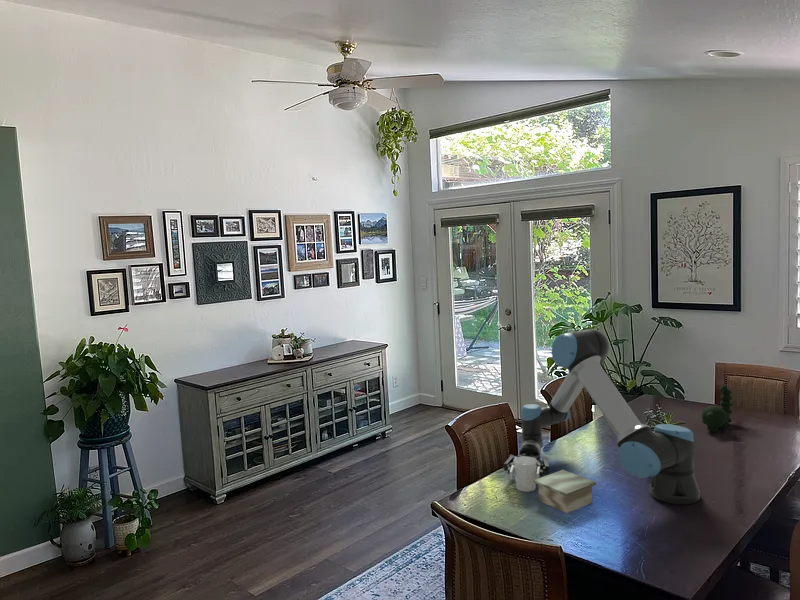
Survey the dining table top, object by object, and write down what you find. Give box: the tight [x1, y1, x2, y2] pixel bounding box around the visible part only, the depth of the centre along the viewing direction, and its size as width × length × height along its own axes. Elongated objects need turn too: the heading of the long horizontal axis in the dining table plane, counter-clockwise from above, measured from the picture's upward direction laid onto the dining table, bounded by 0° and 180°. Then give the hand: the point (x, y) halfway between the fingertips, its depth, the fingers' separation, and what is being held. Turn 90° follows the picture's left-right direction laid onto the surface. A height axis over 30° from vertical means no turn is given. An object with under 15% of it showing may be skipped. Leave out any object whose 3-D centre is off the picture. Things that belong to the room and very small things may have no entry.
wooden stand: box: [534, 469, 597, 514], centre depth 193 cm, size 14×14×7 cm
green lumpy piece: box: [701, 384, 733, 433], centre depth 256 cm, size 9×19×25 cm
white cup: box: [514, 456, 537, 493], centre depth 206 cm, size 8×8×10 cm
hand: (524, 476), depth 201 cm, fingers open, 8 cm apart
